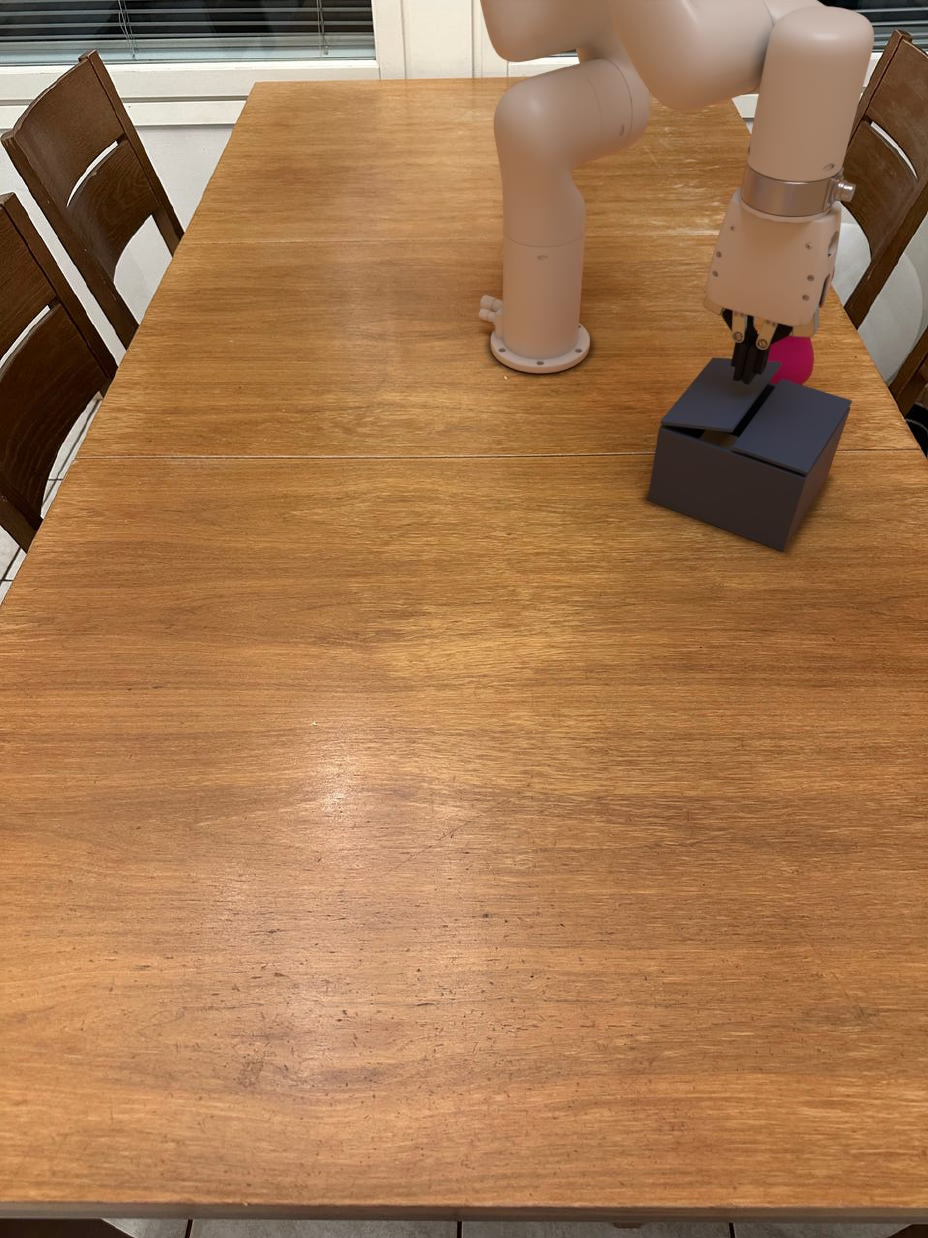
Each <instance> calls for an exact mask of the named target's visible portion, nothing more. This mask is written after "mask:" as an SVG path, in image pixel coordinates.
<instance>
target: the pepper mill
mask: <svg viewBox="0 0 928 1238" xmlns="http://www.w3.org/2000/svg"><path fill="white" fill-rule="evenodd" d="M835 271H836V265H834V270H833V275H832V280H831V283H832V281H833V279H834V276H835ZM812 343H813V342H812V339H811V337H809V338H808V337H793V336H787V337H785V338H784V339H782V340H780V341H778V342H776V343H774V344H772V345H771V348H770V352H769V357H768V361H774V362H781V366H780V368H779V369H778V371H777V372H776V373H775V375H774V376H773V377H772V379H771V380H770V381H769V382H772V383H775V384H778V383H779V382H780V380H781V379H784V380H787V381H790V382H794V383H797V384H800V385H803V384H805V383H806V382H808V380H809V379H810V377H811V376H812V374H813V370H814V363H815V352H814V347H813V344H812Z"/></svg>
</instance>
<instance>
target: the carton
mask: <svg viewBox="0 0 928 1238" xmlns="http://www.w3.org/2000/svg"><path fill="white" fill-rule="evenodd" d="M852 402H853V400H852V399H849V398H845V397H842V396H839V395H836V394H832V393H829V392H826V391H822V390H820V389H817V388H814V387H813V388H812V387H809V386H807V385H803V384H802V385H800V384H797V383H794V382H790V381H787V380H784V379H781V380H780V382H779V383H778V384H775V383H772V382H769V383H768V384H767V385H766V387H765V388H764V390H763V391H762V392H761V394H760V395H759V396H758V398H757V399H756V400H755V402H754V403H753V404H752V406H751V407H750V409H749V410H748V411H747V413H746V414H745V415H744V417H743V418H742V419H741V421H740V422H739V423H738V425H737V426H736V428H735V429H734V430H733V432H725V433H728V434H731V435H734V436H737V437H739V438H738V439H737V441H736V442H735V444H734V445H733V447H732V450H730V449H727V448H724V447H721V446H718V445H715V444H712V443H710V442H707V441H704V440H701V439H699V438H700V437H701V436H702V435H703V433H704V432H705V431H706V429H697V428H688V427H679V426H670V425H661V424H660V426H659V427H658V430H657V438H656V443H655V449H654V456H653V463H652V470H651V476H650V482H649V489H648V494H647V495H648V496H647V501H649V502H652V503H654V504H657V505H659V506H662V507H665V508H667V509H669V510H672V511H676V512H678V513H681V514H683V515H686V516H688V517H690V518H693V519H696V520H699V521H702V522H705V523H706V524H710V525H712V526H714V527H717V528H720V529H722V530H725V531H726V532H727V531H728V532H730V533H733V534H735V535H738V536H740V537H743V538H745V539H748V540H750V541H753V542H756V543H759V544H761V545H764V546H767V547H769V548H771V549H775V550H778V551H780V552H784V551H785V549H786V547H787V546H788V544H789V543H790V541H791V539H792V537H793V536H794V534H795V532H796V531H797V529H798V527H799V526H800V524H801V523H802V521H803V519H804V517H805V516H806V515H807V513H808V511H809V510H810V508H811V506H812V504H813V503H814V501H815V500H816V498H817V496H818V495H819V493H820V491H821V489H822V488H823V486H824V484H825V483H826V481H827V479H828V476H829V474H830V471H831V467H832V465H833V461H834V459H835V455H836V453H837V449H838V447H839V444H840V441H841V438H842V435H843V432H844V429H845V426H846V423H847V420H848V417H849V414H850V411H851V405H852ZM722 432H723V431H722ZM733 450H735V451H733ZM736 451H738V452H741V453H744V454H741V453H738V452H736Z"/></svg>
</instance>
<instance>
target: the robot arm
mask: <svg viewBox="0 0 928 1238" xmlns="http://www.w3.org/2000/svg"><path fill="white" fill-rule="evenodd" d="M479 2H480V7H481V11H482V16H483V20H484V24H485V27H486V31H487V36H488V39H489V41H490V43H491V47H492V48H493V50H494V51H495V53H496V54H497V56H498V57H499V58H501V59H502V60H504V61H506V62H509V63H524V62H531V61H535V60H539V59H544V58H548V57H551V56H552V57H553V56H555V55H558V54H562V53H566V52H569V51H573V50H575V51H576V55H577V59H578V63H576V64H572V65H570V66H564V67H560V68H556V69H553V70H550V71H546V72H543V73H539V74H536V75H532V76H530V77H527V78H525V79H522V80H521V81H519V82H517V83H515V84H513V85H512V86H511V87H510V88H509V89H507V90H506V91H505V92H504V93H503V95H502V96H501V98H500V99H499V101H498V102H497V104H496V107H495V110H494V113H493V134H494V142H495V147H496V152H497V159H498V165H499V171H500V178H501V180H500V181H501V193H502V299H499V298H497V297H494V296H491V295H488V294H484V295H482V296H481V299H480V301H479V311H478V313H477V314H478V315H477V317H478V319H479V320H481V321H485V322H490V323H492V324H493V326H494V329H493V330H492V332H491V335H490V351H491V353H492V354H493V356H494V357H495V358H496V359H497V361H499V362H500V363H501V364H503V365H505V366H507V367H508V368H511V369H513V370H516V371H519V372H524V373H530V374H551V373H558V372H561V371H565V370H568V369H570V368H573V367H575V366H576V365H578V364H579V363H581V362H582V361H583V360H584V359H585V358H586V357H587V355H588V354H589V351H590V347H591V337H590V333H589V332H588V330H587V328H586V327H585V326H584V325H583V324H581V323H580V315H581V302H582V301H581V300H582V286H583V274H584V273H583V272H584V259H585V244H586V230H587V229H586V228H587V227H586V225H587V206H586V202H585V198H584V196H583V194H582V193H581V191H580V189H579V188H578V186H577V184H576V183H575V181H574V179H573V172H574V171H575V170H576V169H577V168H578V167H581V166H584V165H587V164H588V163H591V162H594V161H597V160H600V159H604V158H606V157H610V156H612V155H613V156H614V154H615V155H616V154H618V153H621V152H623V151H625V150H628V149H629V148H631V147H633V146H634V145H636V144H637V143H638V142H639V141H640V139H642V137H643V135H644V134H645V132H646V129H647V127H648V125H649V121H650V113H651V95H652V96H653V97H654V98H655V99H656V100H657V101H658V102H659V104H662V105H663V106H665V107H667V108H668V109H670V110H673V111H677V112H692V111H697V110H700V109H704V108H707V107H710V106H713V105H716V104H719V103H722V102H726V101H729V100H732V99H734V98H737V97H740V96H741V97H742V96H747V95H753V94H758V96H757V100H756V106H755V110H754V111H755V112H754V117H753V121H752V128H751V133H750V139H749V143H748V148H747V154H746V160H745V164H744V165H745V166H744V171H743V175H742V182H741V185H739V186H738V187H737V188H736V190H735V191H734V192H733V194H732V196H731V199H730V200H729V203H728V205H727V209H726V211H725V214H724V217H723V219H722V221H721V225H720V227H719V232H718V234H717V238H716V242H715V245H714V249H713V253H712V256H711V261H710V264H709V270H708V273H707V279H706V285H705V297H704V300H703V301H702V306H703V307H704V309H706V310H708V311H709V312H712V313H713V314H715V315H717V316H720V317H721V318H722V319H723V321H724V323H725V324H726V325H727V327H728V329H729V330H730V331H731V339H732V340H733V342H735V343H734V347H733V352H732V357H731V359H732V361H731V366H733V367H735V370H734V375H733V380H734V381H741V380H742V381H743V383H744V384H747V385H749V384H750V382H751V381H752V380H753V379H754V377H755V376H756V375H757V374H759V375H761V374H762V373H763V372H764V370H765V368H766V365H767V361H768V357H769V352H770V348H771V345H772V344H774V343H776V342H778V341H780V340H782V339H784V338H785V337H787V336H793V337H808V338H809V337H810V338H812V337H814V335H815V334H816V333H817V332H818V330H819V329H820V309H822V308H823V306H824V305H825V303H826V301H827V300H828V299H827V298H828V295H829V292H830V289H831V285H832V282H831V280H832V281H833V279H832V275H833V270H834V265H835V264H836V259H837V255H838V254H837V253H838V249H839V241H840V235H841V227H842V226H841V225H842V211H843V210H842V209H843V208H842V205H841V203H840V202H841V201H843V202H848V203H850V202H851V200H852V199H853V197H854V194H855V191H856V187H857V186H856V184H855V183H850V182H848V180H846V179H844V177H845V175H844V174H843V173H844V170H845V167H844V166H843V164H844V161H845V157H846V154H847V149H848V145H849V141H850V138H851V135H852V131H853V126H854V122H855V119H856V115H857V112H858V111H857V110H858V107H859V103H860V100H861V96H862V91H863V88H864V84H865V80H866V77H867V73H868V69H869V65H870V61H871V57H872V54H873V48H874V43H875V32H874V27H873V25H872V23H871V22H870V20H869V19H868V18H867V17H866V16H864V15H862V14H861V13H858V12H856V11H854V10H851V9H849V8H848V9H847V8H843V7H836V6H827V5H825V4H823V3H822V2H820V1H819V0H479ZM835 266H836V265H835ZM756 319H762V320H764V322H763V324H762V326H761V328H760V329H761V330H760V331H759V330H758V329H756ZM758 332H759V333H758Z"/></svg>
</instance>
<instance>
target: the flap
mask: <svg viewBox="0 0 928 1238" xmlns="http://www.w3.org/2000/svg"><path fill="white" fill-rule="evenodd" d="M731 361H732V358H728V357H727V358H726V357H714V356H713V357H712V358H711V359H710V360H709V361H708V362H707V364H706V365H705V366H704V367H703V368H702V369H701V371H700V373H698V375H697V376H696V377H695V379H694V380H693V381H692V382H691V383H690V384H689V386H688V387H687V388H686V389H685V390H684V391H683V393H682V394H681V395H680V397H679V398H678V399H677V400H676V401H675V403H674V404H673V405H672V406H671V407H670V409H669V410H668V411H667V412H666V414H665V415H664V416H663V417H662V419H660V426H661V425H670V426H679V427H688V428H697V429H706V430H714V431H723V432H733V430H734V429H735V428H736V426H737V425H738V423H739V422H740V421H741V419H742V418H743V417H744V415H745V414H746V413H747V411H748V410H749V409H750V407H751V406H752V404H753V403H754V402H755V400H756V399H757V398H758V396H759V395H760V394H761V392H762V391H763V390H764V388H765V387H766V385H767V384H768V383H769V381H770V380H771V379H772V377H773V376H774V375H775V373H776V372H777V371H778V369H779V368H780V366H781V362H774V361H767V365H766V368H765V370H764V372H763V373H762V374H761V375H759V374H757V375H756V376H755V377H754V379H753V380H752V381H751V382H750V384H749V385H747V384H744V383H743V381H742V380H741V381H734V380H733V375H734V370H735V367H733V366H731Z"/></svg>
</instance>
